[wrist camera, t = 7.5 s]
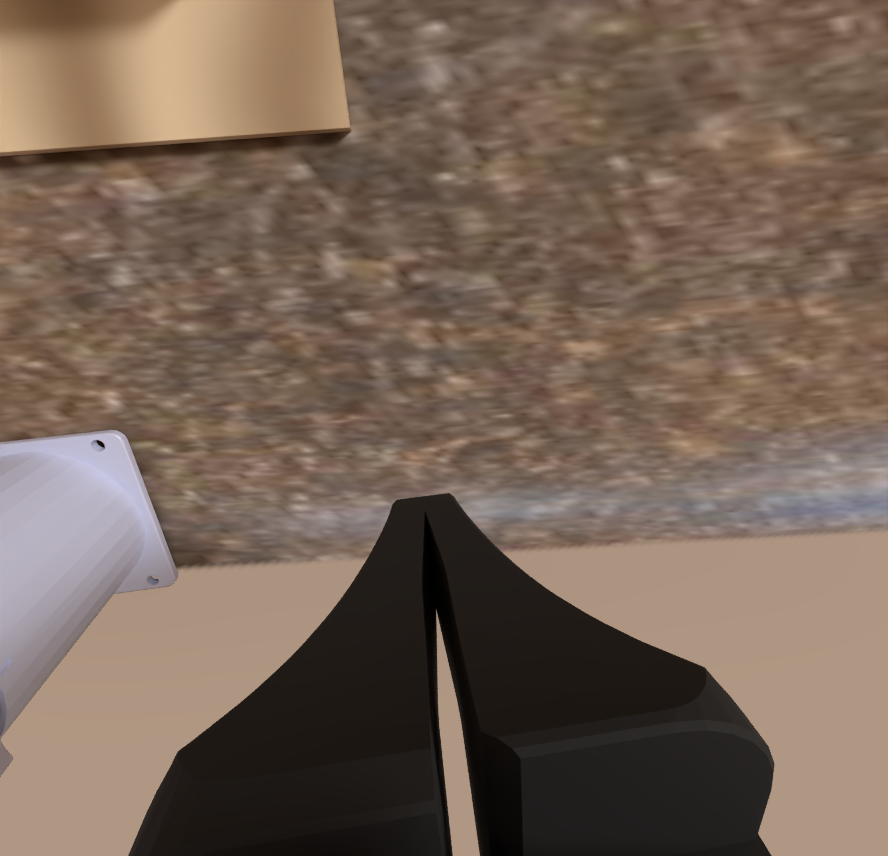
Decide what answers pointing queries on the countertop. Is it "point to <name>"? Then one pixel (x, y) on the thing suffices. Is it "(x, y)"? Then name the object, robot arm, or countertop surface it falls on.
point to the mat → (166, 72)
